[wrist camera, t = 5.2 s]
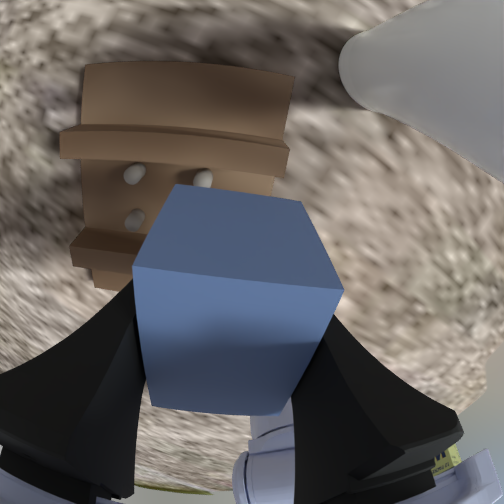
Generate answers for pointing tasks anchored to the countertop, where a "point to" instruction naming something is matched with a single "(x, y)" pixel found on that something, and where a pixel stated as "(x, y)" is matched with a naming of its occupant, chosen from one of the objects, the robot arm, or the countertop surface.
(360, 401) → the robot arm
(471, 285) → the countertop surface
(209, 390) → the shelf block
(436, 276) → the countertop surface
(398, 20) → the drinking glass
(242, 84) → the shelf frame
